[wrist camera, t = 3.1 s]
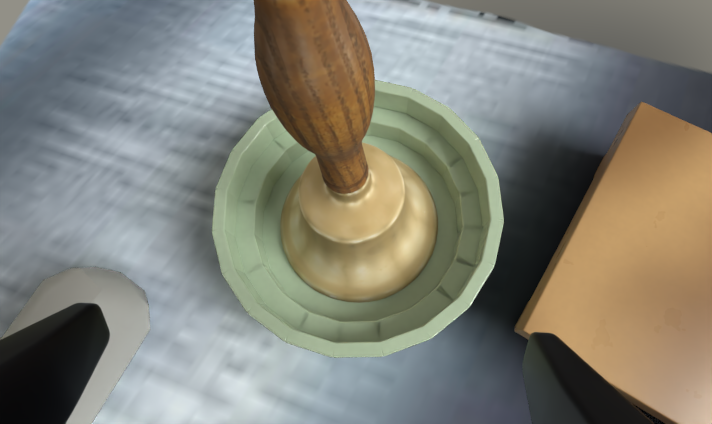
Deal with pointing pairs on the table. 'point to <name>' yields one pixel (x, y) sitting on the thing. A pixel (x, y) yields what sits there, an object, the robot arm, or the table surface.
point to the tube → (122, 315)
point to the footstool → (640, 270)
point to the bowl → (388, 315)
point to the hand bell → (339, 156)
